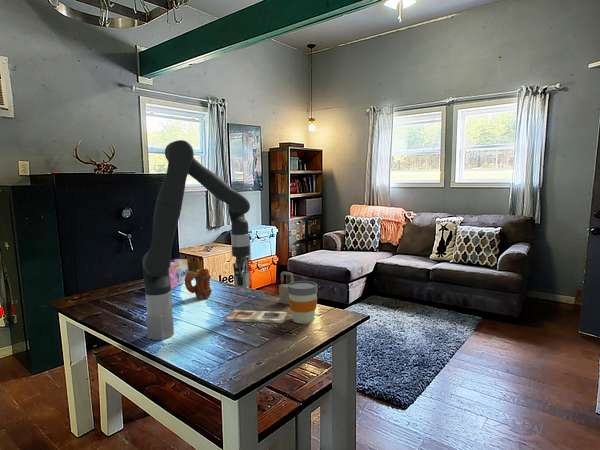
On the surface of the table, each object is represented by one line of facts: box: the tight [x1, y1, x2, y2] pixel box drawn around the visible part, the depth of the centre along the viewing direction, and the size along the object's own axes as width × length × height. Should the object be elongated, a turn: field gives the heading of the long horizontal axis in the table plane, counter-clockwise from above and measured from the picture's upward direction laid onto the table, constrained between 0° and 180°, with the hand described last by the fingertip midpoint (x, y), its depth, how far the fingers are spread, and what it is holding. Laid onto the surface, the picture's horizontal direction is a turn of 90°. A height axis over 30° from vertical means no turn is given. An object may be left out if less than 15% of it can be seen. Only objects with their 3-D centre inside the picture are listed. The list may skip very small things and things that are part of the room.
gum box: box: [169, 257, 189, 290], centre depth 217 cm, size 24×8×14 cm, turn 168°
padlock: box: [278, 271, 295, 305], centre depth 181 cm, size 4×8×15 cm, turn 54°
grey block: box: [233, 270, 251, 289], centre depth 161 cm, size 5×5×6 cm
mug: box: [184, 268, 213, 299], centre depth 190 cm, size 15×8×15 cm, turn 141°
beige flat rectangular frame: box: [225, 309, 288, 324], centre depth 162 cm, size 24×10×1 cm, turn 80°
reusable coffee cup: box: [287, 280, 318, 324], centre depth 158 cm, size 13×12×15 cm
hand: (242, 283), depth 162 cm, fingers closed on grey block, 5 cm apart
